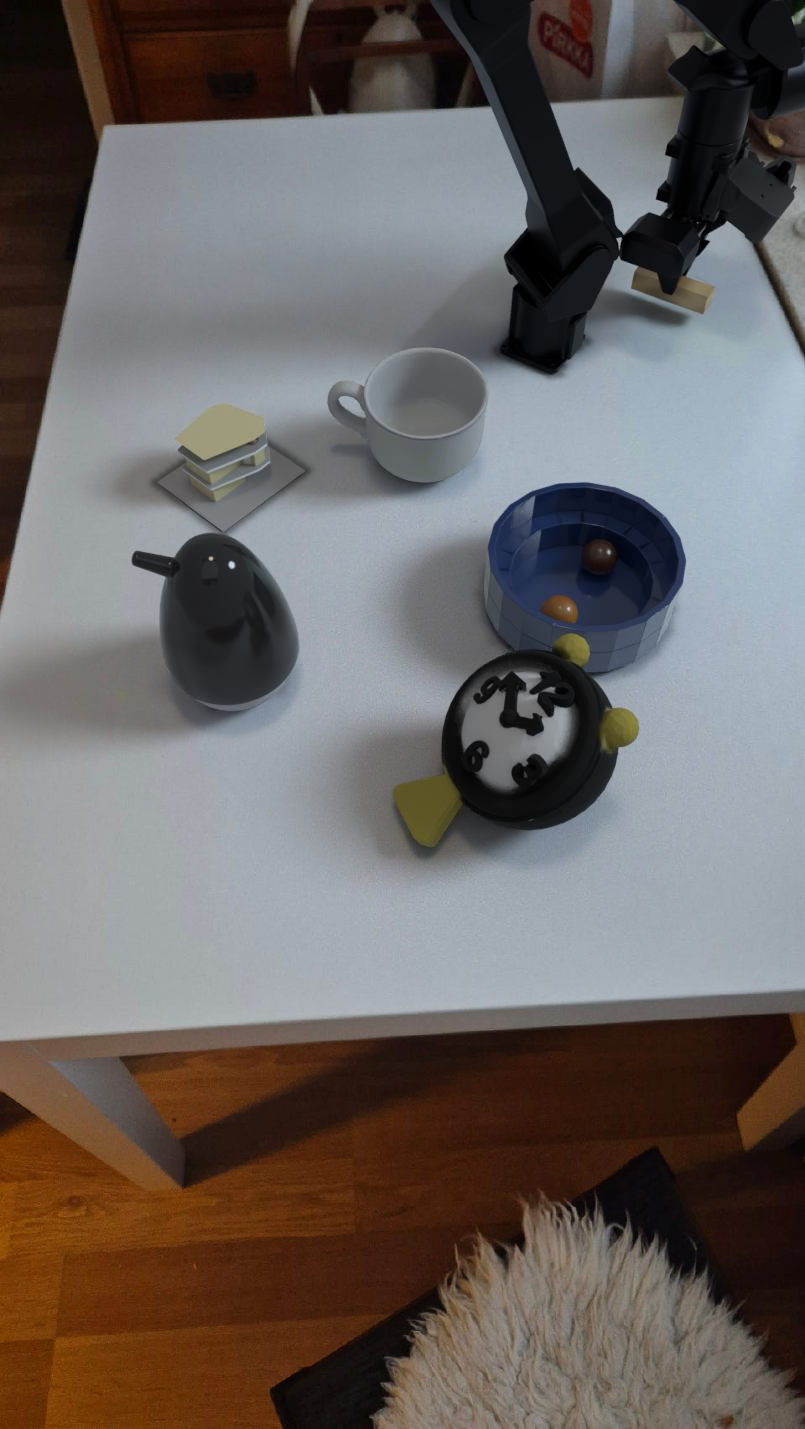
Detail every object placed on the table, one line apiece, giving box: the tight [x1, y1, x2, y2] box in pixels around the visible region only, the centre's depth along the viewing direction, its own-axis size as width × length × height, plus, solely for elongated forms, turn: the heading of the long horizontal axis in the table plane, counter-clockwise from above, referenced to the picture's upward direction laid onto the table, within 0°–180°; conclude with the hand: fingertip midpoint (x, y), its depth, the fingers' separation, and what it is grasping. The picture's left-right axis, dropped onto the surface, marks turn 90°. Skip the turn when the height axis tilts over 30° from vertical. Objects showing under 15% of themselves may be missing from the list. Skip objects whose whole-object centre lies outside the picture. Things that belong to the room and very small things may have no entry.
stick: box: [630, 266, 716, 315], centre depth 102 cm, size 8×2×2 cm, turn 57°
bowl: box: [483, 481, 687, 673], centre depth 81 cm, size 15×15×6 cm
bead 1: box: [540, 595, 578, 624], centre depth 80 cm, size 3×3×3 cm
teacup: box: [326, 346, 489, 483], centre depth 89 cm, size 14×11×8 cm
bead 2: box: [581, 539, 618, 576], centre depth 83 cm, size 3×3×3 cm
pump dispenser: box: [130, 532, 300, 712], centre depth 73 cm, size 10×10×15 cm
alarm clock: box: [392, 633, 640, 848], centre depth 70 cm, size 12×15×15 cm
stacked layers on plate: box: [157, 403, 306, 533], centre depth 89 cm, size 10×9×6 cm
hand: (672, 287), depth 102 cm, fingers closed on stick, 2 cm apart
